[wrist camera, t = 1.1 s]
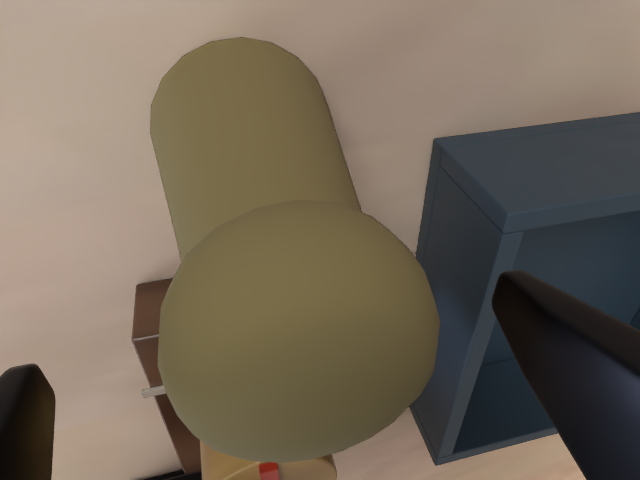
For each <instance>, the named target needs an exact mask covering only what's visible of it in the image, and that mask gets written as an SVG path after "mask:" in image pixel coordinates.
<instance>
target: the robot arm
mask: <svg viewBox="0 0 640 480" xmlns="http://www.w3.org/2000/svg"><path fill="white" fill-rule="evenodd" d="M492 309H493V312H494V314H495V316H496V318H497V320H498V322H499V325H500V327H501V329H502V331H503V333H504V335H505V337H506V340H507V342H508V344H509V346H510V348H511V350H512V352H513V355H514V357H515V359H516V361H517V363H518V365H519V367H520V369H521V371H522V373H523V375H524V376H525V378H526V380H527V382H528V383H529V385H530V387H531V388H532V390H533V392H534V393H535V395H536V397H537V398H538V400H539V402H540V403H541V405H542V407H543V408H544V410H545V412H546V413H547V415H548V417H549V418H550V420H551V422H552V423H553V425H554V427H555V428H556V430H557V432H558V433H559V435H560V437H561V438H562V440H563V442H564V443H565V445H566V447H567V448H568V450H569V451H570V453H571V455H572V456H573V458H574V460H575V461H576V463H577V465H578V466H579V468H580V470H581V471H582V473H583V475H584V476H585V478H586V480H640V330H638V329H636V328H634V327H632V326H630V325H628V324H626V323H624V322H622V321H620V320H619V319H617V318H615V317H613V316H611V315H609V314H607V313H605V312H603V311H601V310H599V309H597V308H595V307H593V306H591V305H589V304H587V303H585V302H583V301H581V300H580V299H578V298H576V297H574V296H572V295H570V294H568V293H566V292H564V291H562V290H560V289H558V288H556V287H554V286H552V285H550V284H548V283H546V282H544V281H542V280H540V279H539V278H537V277H535V276H533V275H531V274H529V273H527V272H525V271H523V270H519V269H516V270H511V271H506V272H502V273H501V274H500V275H499V277H498V280H497V283H496V286H495V290H494V293H493V296H492ZM54 421H55V394H54V391H53V389H52V387H51V386H50V384H49V382H48V381H47V379H46V378H45V376H44V374H43V373H42V371H41V370H40V368H39V367H38V366H37V365H36V364H26V365H21V366H16V367H12V368H9V369H8V370H6V371H5V372H4V373H3V374H2V376H1V377H0V480H51V475H52V458H53V440H54ZM146 480H202V473H201V470H199V471H195V472H191V473H187V474H185V473H184V470H183V471H179V472H174V473H170V474H166V475H162V476H158V477H154V478H150V479H146Z"/></svg>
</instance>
